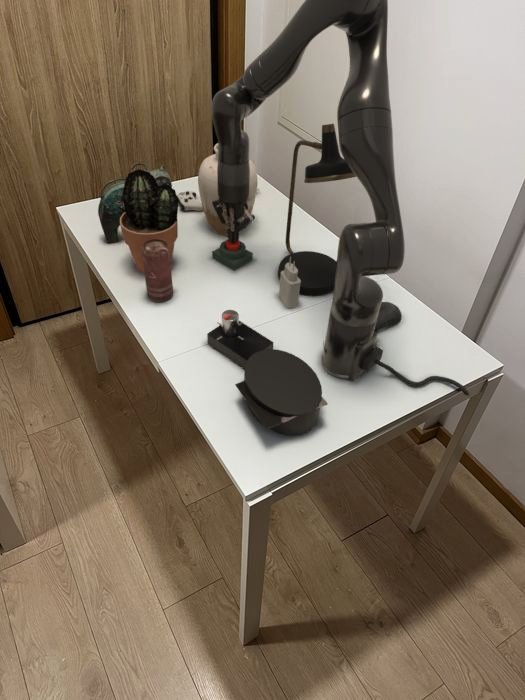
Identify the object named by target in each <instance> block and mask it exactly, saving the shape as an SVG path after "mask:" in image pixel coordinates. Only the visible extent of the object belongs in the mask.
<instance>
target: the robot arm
mask: <svg viewBox="0 0 525 700" xmlns="http://www.w3.org/2000/svg"><path fill="white" fill-rule="evenodd" d="M388 6H389V1H388V0H304V1H303V3H302V4H301V5H300V7H299V8H298V10H297V11H296V12H295V13H294V15H293V16H292V17H291V18H290V20H289V22H288V23H287V25H286V26H284V29H282V31H281V32H280V33H279V35H277V37H276V38H275V39H274V40H273V41H272V42H271V44H270V45H269V46H268V47H266V49H264V50H263V51H262V52H261V53H260V54H259V55H258V56H256V58H255V59H254V60H253V61H252V62H250V64H248V65H247V67H246V68H245V70H244V71H243V74H242V75H241V76H240V77H239V78H238V79H237V80H235V81H234V82H233V83H231V84H230V85H228V86H226V87H225V88H222V89H221V90H219V91H217V92H216V93H215V95H213V98H212V101H211V108H210V113H211V119H212V123H213V127H214V128H213V129H214V131H215V135H216V138H217V143H218V166H217V185H218V196H219V199H217V200H215V201H213V202H212V204H213V207H214V209H215V211H216V213H217V215H218V217H219V219H220V221H221V223H222V224H225V225H226V228H227V235H226V237H227V239H228V241H229V242H231V243H235V242H237V241H238V240H239V241H240V232H239V231H241V230H242V231H243V230H245V229H246V228H247V227H248V226H249V225H251V223H252V222H254V221H255V220H256V216H255V214H251V215H250V213H249V212H248V205H247V199H248V197H249V183H250V165H249V159H250V137H249V134H248V133H247V132H246V131H245V130H243V129H242V121H243V120H244V119H246V118H247V117H249V116H250V115H252V114H253V113H254V112H255V111H256V110H257V109H258V108H260V106H262V104H263V103H264V102H265V101H266V100H267V99H268V98H269V97H271V96H273V94H275V93H277V91H278V90H279V89H281V88H282V87H283V86H284V85H285V84H287V83H288V82H289V80H291V78H293V77H294V76H295V74H296V73H297V71H298V69H299V67H300V64H301V63H302V59H303V57H304V55H305V52H306V50H307V49H308V47H309V45H310V44H311V42H312V41H314V39H315V38H316V37H317V36H319V34H321V33H323V31H325V30H327V29H328V28H330V27H331V26H334V27H335V28H337V29H339V30H341V31H343V32H344V33H345V36H346V39H347V45H348V55H349V71H348V76H347V79H346V81H345V84H344V87H343V89H342V92H341V94H340V98H339V100H338V105H337V110H336V111H337V113H336V114H337V115H336V121H337V132H338V147H339V152H340V154H341V155H342V158H343V159H345V161H346V162H347V164H348V165H349V167H350V168H351V170H352V171H353V173H354V174H355V175H356V177H355V178H357V180H358V181H359V182H360V184H361V185H362V186H363V187H364V190H365V191H366V193H367V195H368V197H369V200H370V203H371V205H372V209H373V213H374V214H373V215H374V220H375V221H369V222H356V223H349V224H346V225H345V226H344V227H343V228H342V230H341V232H340V235H339V238H338V244H337V245H338V246H337V253H336V254H337V256H336V261H337V263H336V271H335V280H334V291H333V294H332V300H331V306H330V311H329V318H328V322H327V328H326V334H325V340H324V341H323V342H322V349H323V350H322V355H321V360H320V361H321V365H322V367H323V369H324V370H325V371H326V372H327V373H328V374H329V375H331V376H333V377H335V378H338V379H343V380H344V379H345V380H349V381H351V382H354V381H355V380H356V379H357V378H359V377H360V376H361V375H363V373H364V372H366V373H369V371H371V370H372V369H373V368H374V367H375V366H376V365H378V366H379V367H381V368H383V369H384V370H386V371H388V372H390V373H391V374H392V375H393V376H395V377H396V378H398V379H399V380H400V381H402V382H403V383H405V384H407V385H409V386H412V387H423V386H425V385H426V384H428V383H430V382H432V381H440V382H445V383H448V384H450V385H453V386H455V387H456V388H457V389H459V390H460V391H461V392H462V393H463V394H464V395H465V396H470V392H469V390H467V389H466V387H465V386H464V385H463V384H461V383H460V382H458V381H456V380H454V379H452V378H449V377H445V376H440V375H431V376H428V377H426V378H424V379H423V380H421V381H414V380H413V381H412V380H410V379H408V377H406V376H404V375H403V374H401V373H400V372H398V371H397V370H396V369H395V368H393V367H392V366H390V365H389V364H386V363H385V362H383V361H381V360H382V357H383V353H384V349H382V348H381V347H379V346H377V345H376V344H375V342H376V338H378V333H377V332H374V330H375V326H376V322H377V318H378V314H379V310H380V306H381V303H382V302H383V299H384V291H383V288H382V286H381V285H380V284H379V283H378V282H377V281H376V280H374V279H372V278H371V277H369V276H382V275H393V274H396V273H398V272H399V271H400V270H401V268H402V267H403V264H404V261H405V253H406V252H405V251H406V248H405V247H406V246H405V245H406V244H405V233H404V227H403V221H402V214H401V208H400V202H399V195H398V190H397V181H396V179H397V178H396V172H395V171H396V169H395V156H394V132H393V116H392V108H391V101H390V100H391V98H390V83H389V81H390V79H389V70H388V67H389V66H388V22H389V21H388V20H389V19H388V18H389V7H388ZM222 213H223V215H224V217H223V215H222ZM243 215H244V217H243ZM242 220H243V221H242ZM241 221H242V222H241ZM242 231H241V232H242Z"/></svg>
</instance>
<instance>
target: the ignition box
mask: <svg viewBox="0 0 525 700" xmlns="http://www.w3.org/2000/svg"><path fill="white" fill-rule="evenodd" d="M226 240H227V239H225V240H223V241H222V242H221V243H220V245H219V247H217V248H216V249H214V250H212V252H211V258H212V259H213V260H214V261H216V262H218V263H219V264H221V265H222V266H225V268H228V269H230V270H232V271H233V272H236V271H237V270H239V269H240V268H242V267H243V266H246V265H247V264H249V263H250V262H252V261H253V260H254V253H253V252H252V251H250V250H248V249H247V247H246V245H245V242H243V241H241V240H239V241H240V248H239V250H237V251H229V250H227V249H226Z"/></svg>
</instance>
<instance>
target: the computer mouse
mask: <svg viewBox="0 0 525 700" xmlns="http://www.w3.org/2000/svg"><path fill="white" fill-rule="evenodd" d="M401 320H402V312H401V309H400V308H399V306H397V305H396V304H394V303H392V302H389V301H382V303H381V306H380V310H379V314H378V318H377V322H376V326H375V330H374V332H375V333H377V332H379V331H381V330H384V329H386V328H389V327H393V326H395V325H397V324H398V323H400V322H401ZM379 340H380V338H379V337H377V338H376V342H375V345H377V343H378V341H379Z"/></svg>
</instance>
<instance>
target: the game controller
mask: <svg viewBox="0 0 525 700" xmlns="http://www.w3.org/2000/svg"><path fill="white" fill-rule="evenodd" d="M176 195H177V199H178V203H179V206H181V209H180V210H181V211H183V212H186V211H189V210H191V211H197V212H201V211H204V210H203V207H202V203H201V201H200V200H197V193H196V191H194V190H186V191H181V192H179V193H176Z"/></svg>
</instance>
